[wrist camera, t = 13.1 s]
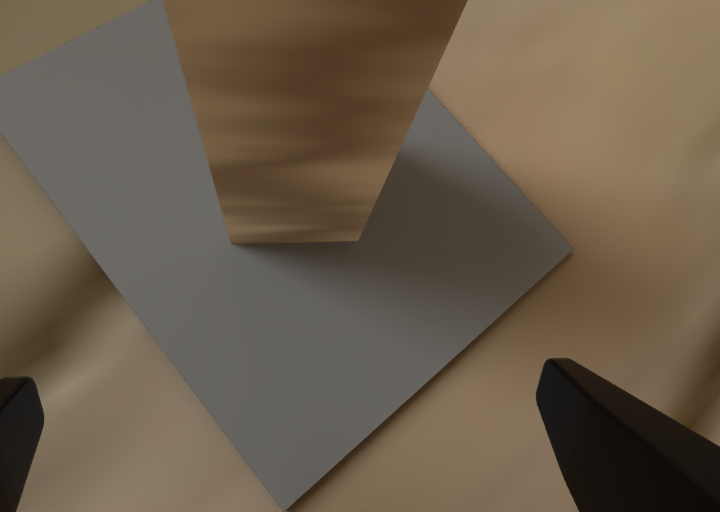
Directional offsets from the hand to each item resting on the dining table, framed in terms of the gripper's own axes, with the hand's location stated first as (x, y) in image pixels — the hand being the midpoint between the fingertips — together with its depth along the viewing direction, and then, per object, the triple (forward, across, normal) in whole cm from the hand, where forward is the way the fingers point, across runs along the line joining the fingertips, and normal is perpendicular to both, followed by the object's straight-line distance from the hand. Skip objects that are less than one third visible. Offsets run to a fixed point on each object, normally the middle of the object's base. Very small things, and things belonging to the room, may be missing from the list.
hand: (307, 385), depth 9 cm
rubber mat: (+12, 0, 0) cm, 12 cm away
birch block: (+11, 0, 0) cm, 11 cm away
